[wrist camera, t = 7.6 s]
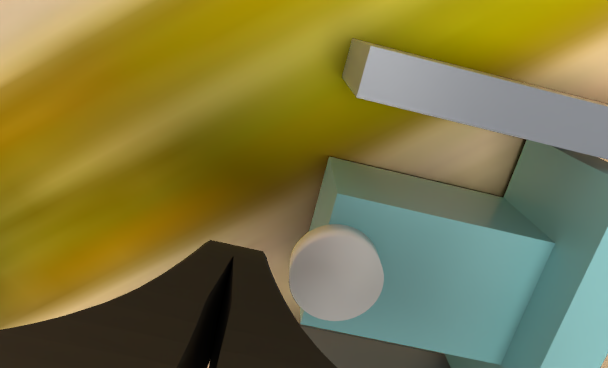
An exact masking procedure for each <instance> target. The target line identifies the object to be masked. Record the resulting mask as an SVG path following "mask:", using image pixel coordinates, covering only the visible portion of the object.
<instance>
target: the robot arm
mask: <svg viewBox="0 0 608 368" xmlns="http://www.w3.org/2000/svg"><path fill="white" fill-rule="evenodd" d="M209 361H210V365H209V368H337V367H336V366H335V365H334V364H333V363H332V362H331V361H330V360H329V359H328V358H327V357H326V356H325V355H324V354H323V353H322V352H321V351H320V349H319V348H318V347H317V346H316V345H315V344H314V343H313V341H312V340H311V339H310V338H309V336H308V335H307V334H306V333H305V331H304V330H303V329H302V328H301V326H300V325H299V324H298V322H297V320H296V319H295V317H294V316H293V314H292V312H291V311H290V309H289V307H288V306H287V304H286V302H285V300H284V298H283V296H282V294H281V292H280V290H279V288H278V286H277V284H276V282H275V280H274V277H273V275H272V273H271V270H270V267H269V265H268V261H267V258H266V256H265V254H264V252H263V251H258V250H254V249H249V248H245V247H240V246H235V245H231V244H226V243H222V242H217V241H212V240H210V241H208V242H206V243H205V244H203V245H202V246H201V247H200V248H199V249H197V250H196V251H195V252H193V253H192V254H191V255H190V256H188V257H187V258H185V259H184V260H183V261H181V262H180V263H178V264H177V265H175V266H174V267H173V268H171V269H170V270H168V271H167V272H165V273H164V274H162V275H160V276H159V277H157V278H155V279H153V280H152V281H150V282H148V283H146V284H145V285H143V286H141V287H139V288H138V289H135V290H133V291H131V292H129V293H127V294H125V295H122V296H120V297H117V298H115V299H113V300H110V301H108V302H105V303H103V304H100V305H97V306H93V307H90V308H87V309H84V310H81V311H78V312H75V313H72V314H69V315H66V316H62V317H58V318H54V319H50V320H46V321H42V322H38V323H33V324H29V325H24V326H19V327H14V328H9V329H3V330H0V368H207V367H208V364H209Z"/></svg>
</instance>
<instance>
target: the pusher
mask: <svg viewBox="0 0 608 368" xmlns="http://www.w3.org/2000/svg"><path fill="white" fill-rule="evenodd" d="M289 286H290V290H291V293H292V296H293V298H294V300H295V301H296V303H297V304H298V305H299V306H300V324H302V325H307V326H312V327H317V328H322V329H327V330H332V331H337V332H341V333H346V334H351V335H356V336H361V337H366V338H371V339H376V340H381V341H386V342H391V343H396V344H400V345H405V346H410V347H415V348H420V349H425V350H430V351H435V352H440V353H444V354H445V356H446V358H447V360H448V363H449V365H450V367H451V368H600V367H601V365H602V363H603V361H604V360H605V358H606V356H607V354H608V162H606V161H604V160H602V159H600V158H598V157H595V156H591V155H587V154H583V153H579V152H575V151H571V150H567V149H563V148H559V147H555V146H551V145H547V144H543V143H539V142H535V141H531V140H526V142H525V145H524V147H523V150H522V153H521V155H520V158H519V160H518V163H517V165H516V168H515V170H514V173H513V175H512V178H511V180H510V183H509V185H508V188H507V190H506V193H505V195H504V198H503V197H499V196H495V195H491V194H486V193H482V192H478V191H474V190H469V189H465V188H461V187H457V186H452V185H448V184H444V183H440V182H435V181H431V180H427V179H422V178H418V177H414V176H410V175H405V174H401V173H397V172H393V171H388V170H384V169H380V168H376V167H371V166H367V165H363V164H359V163H354V162H350V161H346V160H342V159H337V158H333V157H329V159H328V163H327V166H326V170H325V174H324V177H323V181H322V185H321V188H320V192H319V196H318V200H317V203H316V207H315V211H314V214H313V218H312V222H311V225H310V229H309V232H308V233H306V234H305V235H304V236H303V237H302V238H301V239H300V240H299V241H298V242H297V244H296V245H295V247H294V249H293V251H292V254H291V257H290V267H289Z"/></svg>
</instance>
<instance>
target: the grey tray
mask: <svg viewBox="0 0 608 368" xmlns="http://www.w3.org/2000/svg"><path fill="white" fill-rule="evenodd" d="M342 78H343V80H344V81H345V82H346V84H347V85H348V87H349V88H350V89H351V91H352V92H353V93H354V95H355V96H356V97H357V98H361V99H365V100H369V101H373V102H377V103H381V104H385V105H389V106H393V107H397V108H401V109H405V110H409V111H413V112H417V113H421V114H425V115H429V116H434V117H438V118H442V119H446V120H450V121H454V122H458V123H462V124H466V125H470V126H474V127H478V128H482V129H486V130H490V131H494V132H498V133H502V134H506V135H510V136H514V137H519V138H523V139H527V140H531V141H535V142H539V143H543V144H547V145H551V146H555V147H559V148H563V149H567V150H571V151H575V152H579V153H583V154H587V155H591V156H595V157H599V158H604V159H608V104H606V103H602V102H598V101H594V100H590V99H586V98H582V97H578V96H575V95H571V94H567V93H563V92H559V91H555V90H551V89H547V88H544V87H540V86H536V85H532V84H528V83H524V82H520V81H516V80H513V79H509V78H505V77H501V76H497V75H493V74H489V73H485V72H482V71H478V70H474V69H470V68H466V67H462V66H458V65H454V64H450V63H447V62H443V61H439V60H435V59H431V58H427V57H423V56H419V55H416V54H412V53H408V52H404V51H400V50H396V49H392V48H388V47H385V46H381V45H377V44H373V43H369V42H365V41H361V40H357V39H354V38H352V41H351V45H350V49H349V52H348V56H347V60H346V64H345V68H344V71H343V75H342ZM300 326H301V328H302V329H303V330H304V331H305V333H306V334H307V335H308V336H309V338H310V339H311V340H312V341H313V343H314V344H315V345H316V346H317V347H318V348H319V349H320V351H321V352H322V353H323V354H324V355H325V356H326V357H327V358H328V359H329V360H330V361H331V362H332V363H333V364H334V365H335V366H336V367H337V368H451V367H450V365H449V363H448V360H447V358H446V356H445V354H441V353H436V352H431V351H426V350H421V349H416V348H411V347H407V346H402V345H397V344H392V343H387V342H382V341H377V340H372V339H367V338H362V337H357V336H352V335H347V334H343V333H338V332H333V331H328V330H323V329H318V328H313V327H308V326H303V325H300Z"/></svg>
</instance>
